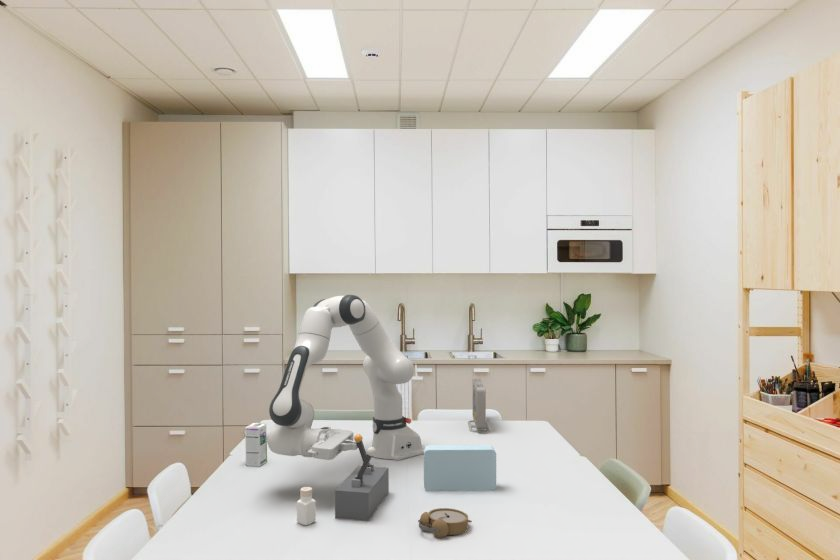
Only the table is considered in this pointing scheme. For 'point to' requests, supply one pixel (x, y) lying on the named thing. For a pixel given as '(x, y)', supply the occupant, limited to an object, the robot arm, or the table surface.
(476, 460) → the light blue rounded box
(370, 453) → the grey lever
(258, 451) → the syrup box
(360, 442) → the orange lever
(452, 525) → the alarm clock
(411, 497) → the table surface
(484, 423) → the network device
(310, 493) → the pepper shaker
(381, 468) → the switch box
